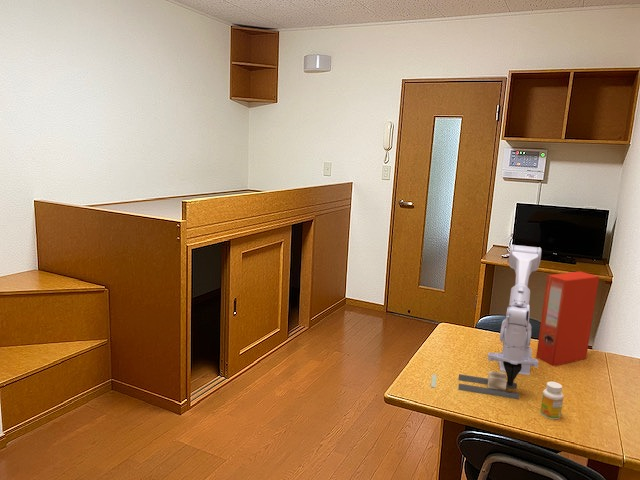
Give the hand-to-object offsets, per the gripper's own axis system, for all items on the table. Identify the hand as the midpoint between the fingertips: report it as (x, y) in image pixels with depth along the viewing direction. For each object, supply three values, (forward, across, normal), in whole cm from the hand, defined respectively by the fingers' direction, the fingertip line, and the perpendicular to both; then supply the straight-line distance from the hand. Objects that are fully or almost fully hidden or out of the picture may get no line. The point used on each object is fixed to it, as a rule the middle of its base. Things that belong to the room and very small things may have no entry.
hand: (509, 384), depth 154 cm
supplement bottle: (+3, +10, -10) cm, 15 cm away
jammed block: (+3, -4, 0) cm, 5 cm away
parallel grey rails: (+3, -6, 0) cm, 7 cm away
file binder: (+3, +22, +35) cm, 41 cm away
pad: (+3, -20, 0) cm, 20 cm away
